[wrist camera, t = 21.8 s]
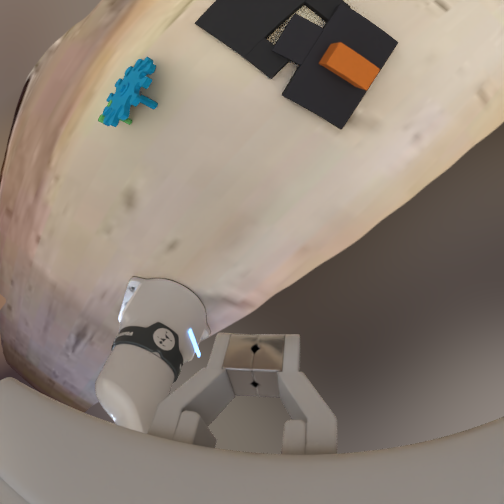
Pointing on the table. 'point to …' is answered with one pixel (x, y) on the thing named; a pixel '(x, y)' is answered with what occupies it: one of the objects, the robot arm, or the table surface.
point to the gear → (129, 93)
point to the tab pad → (320, 79)
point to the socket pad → (257, 26)
